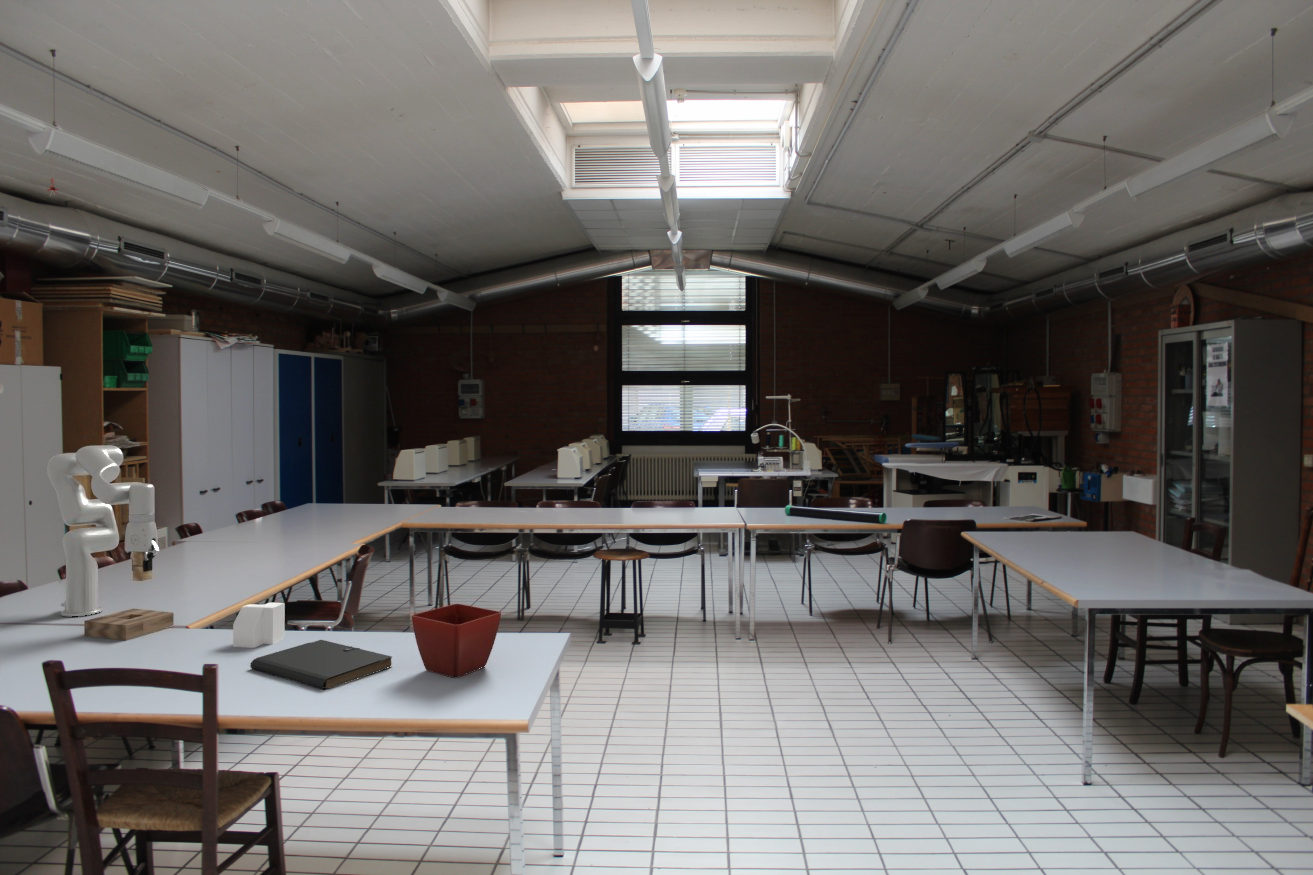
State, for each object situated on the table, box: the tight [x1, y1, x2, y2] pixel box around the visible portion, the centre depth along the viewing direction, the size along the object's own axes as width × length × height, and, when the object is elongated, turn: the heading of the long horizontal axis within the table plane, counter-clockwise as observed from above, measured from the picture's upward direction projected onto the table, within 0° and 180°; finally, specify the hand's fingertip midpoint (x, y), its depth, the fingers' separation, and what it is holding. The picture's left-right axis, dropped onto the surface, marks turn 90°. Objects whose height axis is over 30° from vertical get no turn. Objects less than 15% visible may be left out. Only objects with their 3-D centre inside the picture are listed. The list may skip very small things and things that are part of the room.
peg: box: [131, 552, 153, 582], centre depth 275 cm, size 4×4×10 cm
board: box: [83, 608, 175, 641], centre depth 268 cm, size 18×18×5 cm
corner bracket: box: [232, 602, 286, 649], centre depth 257 cm, size 11×11×12 cm
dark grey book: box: [249, 639, 393, 691], centre depth 232 cm, size 33×4×24 cm
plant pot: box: [411, 603, 502, 679], centre depth 233 cm, size 19×19×17 cm
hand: (142, 570), depth 275 cm, fingers closed on peg, 4 cm apart
